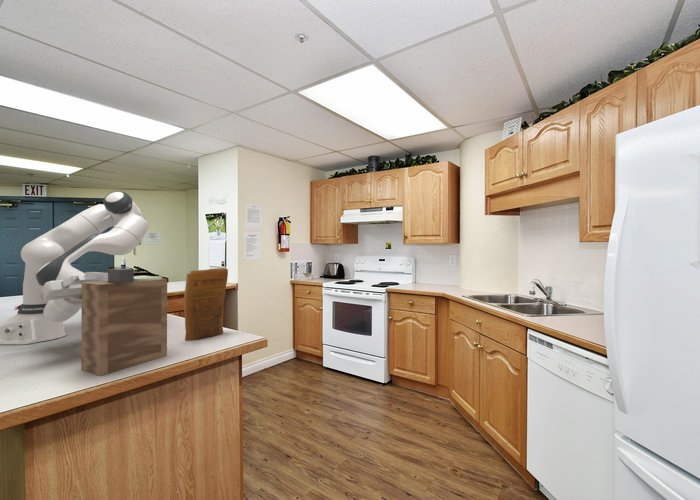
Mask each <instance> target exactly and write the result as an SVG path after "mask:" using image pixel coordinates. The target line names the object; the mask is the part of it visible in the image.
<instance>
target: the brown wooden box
mask: <svg viewBox="0 0 700 500" xmlns="http://www.w3.org/2000/svg"><path fill="white" fill-rule="evenodd" d="M80 337H81V342H80V343H81V344H80V346H81V355H80V356H81V359H80V360H81V368H80V369H81V371H84V372H87V373H90V374H92V375H96V376H99V377H101V376H104V375H107V374H111V373H114V372H117V371H121V370H124V369H128V368H130V366H131V367H134V366H137V365H141V364H143V362H144V363H147V362H150V361H152V360H157V359H159V358H163V357H166V356H168V278H162V276H153V275H134V282H133V283H122V284H117V283H108V282H102V281H97V282H84V283H82V308H81V336H80Z"/></svg>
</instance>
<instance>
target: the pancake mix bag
mask: <svg viewBox="0 0 700 500" xmlns="http://www.w3.org/2000/svg"><path fill="white" fill-rule="evenodd" d="M228 274H229V269H228V268H226V267H223V268H222V267H221V268H220V267H217V268H208V269H201V270H200V269H199V270H198V269H196V270H190V271H189V273H186V278H185V286H184V287H185V288H184V297H183V298H184V299H183V301H184V303H183V305H184V325H185V326H184V327H185V328H184V329H185V336H184V341H199V340H202V339H206V338H210V337H214V336H219V335H220V336H221V335H222V334H223V333H224V328H223V315H224V302H225V297H226V293H227V292H226V291H227V284H228V283H227V282H228V278H229V275H228Z"/></svg>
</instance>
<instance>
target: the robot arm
mask: <svg viewBox="0 0 700 500" xmlns="http://www.w3.org/2000/svg"><path fill="white" fill-rule="evenodd" d="M102 202H103V204H102V203H98V204H96V205H93V206H91V207H89V208H86V209H85V210H82V211H81V212H79V213H77V214H76V215H74V216H73V217H71V218H69V219H68V220H66V221H64V222H63V223H61V224H60V225H58V226H56V227H54V228H52V229H50V230H49V231H46V233H43V234H42V235H39V236H38V237H36V238H35V239H32V240H31V241H29V242H28V243H26V244H24V245H23V247H22V249H21V251H20V257H21V260H22V261H23V262H24V263H25V265H24V277H23V282H22V303H21V304H20V305H18V306H14V307H13V308H14V309H13V310H14V311H16V310H17V313H16V314H14V315H13V316H12V317H10V318H8V319H7V320H5V321H4V322H2V323H1V324H0V345H30V344H34V343H39V342H44V341H51V340H55V339H60V338H62V337H64V336H65V337H66V335H67V333H66V330H65V327H64V323H63V322H65V321H67V320H69V319H71V318H72V317H74V316H75V315H76V314H77V313H78V312H79V311H80V310H82V283H84V282H97V281H92V280H85V272H83V271H81V270H80V269H78V268H75V267H74V266H72V265H71V264H72V263H73V262H75V261H76V260H77V259H79V258H80V257H82V256H83V255H84V254H86V253H89V252H98V253H103V254H107V255H112V256H125V255H128V254H130V253H132V252H133V250H134V249H135V248H136V247H137V246H138V245H139V244H140V243H141V241H142V240H143V239H144V237H145V235H146V234H147V232H148V230H149V223H148V221H147V220H146V218H145V217H144V215H143V213H142V211H141V209H140V208H139V207H138V206H137V204H136V203H135V201H134V200H133V198H132V197H131V195H129V193H127V192H125V191H121V190H116V191H115V190H114V191H111V192H109V193H108V194H106V195H105V196H104V198H103V200H102ZM109 228H111V229H110V230H109V231H107V232H105V231H106V230H107V229H109Z"/></svg>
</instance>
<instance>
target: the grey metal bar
mask: <svg viewBox="0 0 700 500" xmlns="http://www.w3.org/2000/svg"><path fill="white" fill-rule="evenodd" d="M84 273H85V280H92V281H102V282H108V283H117V284H122V283H133V282H134V276H135V274H134V273H135V270H134V268H108V269H107V272H101V271H100V272H99V271H84Z"/></svg>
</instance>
